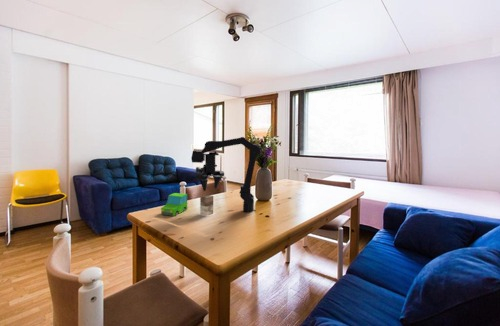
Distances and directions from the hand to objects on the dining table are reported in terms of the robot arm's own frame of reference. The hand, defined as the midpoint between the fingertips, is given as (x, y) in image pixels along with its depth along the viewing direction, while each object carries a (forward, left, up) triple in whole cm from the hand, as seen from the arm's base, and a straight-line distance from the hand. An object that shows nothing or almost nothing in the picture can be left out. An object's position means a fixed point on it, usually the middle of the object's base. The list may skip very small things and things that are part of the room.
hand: (210, 189), depth 137 cm
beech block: (+7, +4, -12) cm, 14 cm away
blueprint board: (+7, +3, -12) cm, 15 cm away
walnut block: (+7, +4, -7) cm, 10 cm away
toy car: (+16, -12, -13) cm, 24 cm away
